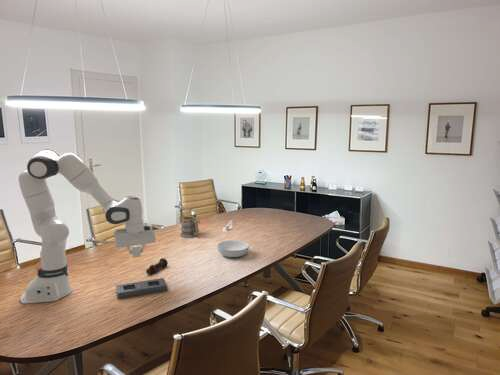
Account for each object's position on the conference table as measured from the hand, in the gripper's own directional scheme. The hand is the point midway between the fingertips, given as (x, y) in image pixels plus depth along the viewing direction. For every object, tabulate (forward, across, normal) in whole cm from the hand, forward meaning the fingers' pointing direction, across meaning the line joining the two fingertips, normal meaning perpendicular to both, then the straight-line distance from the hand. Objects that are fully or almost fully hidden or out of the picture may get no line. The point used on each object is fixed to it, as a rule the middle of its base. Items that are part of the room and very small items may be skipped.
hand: (136, 252), depth 193 cm
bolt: (+19, +12, +17) cm, 28 cm away
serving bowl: (+20, +63, +24) cm, 70 cm away
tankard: (+20, +48, +75) cm, 91 cm away
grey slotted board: (+18, +1, -8) cm, 20 cm away
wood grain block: (+2, 0, 0) cm, 2 cm away
